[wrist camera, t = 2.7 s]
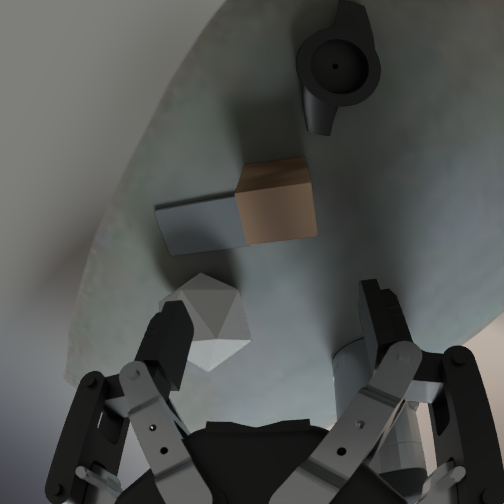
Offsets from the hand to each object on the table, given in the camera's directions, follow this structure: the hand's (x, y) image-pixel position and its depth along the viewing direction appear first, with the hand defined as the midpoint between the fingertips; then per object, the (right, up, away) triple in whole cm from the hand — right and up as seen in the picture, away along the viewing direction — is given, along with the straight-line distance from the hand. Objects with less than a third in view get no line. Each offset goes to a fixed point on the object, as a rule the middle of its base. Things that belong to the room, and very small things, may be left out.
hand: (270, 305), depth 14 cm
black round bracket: (+5, +17, +7) cm, 19 cm away
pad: (-5, +5, +15) cm, 17 cm away
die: (-5, -2, +20) cm, 20 cm away
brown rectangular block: (+1, +8, +12) cm, 15 cm away
